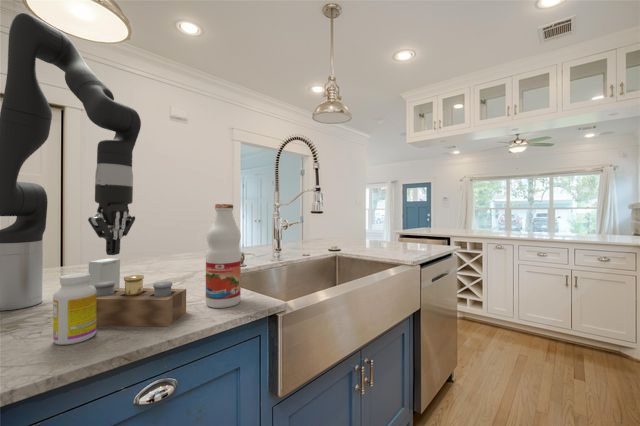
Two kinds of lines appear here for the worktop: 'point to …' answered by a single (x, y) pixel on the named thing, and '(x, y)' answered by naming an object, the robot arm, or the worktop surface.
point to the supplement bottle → (74, 309)
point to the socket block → (140, 308)
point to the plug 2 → (162, 289)
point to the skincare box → (105, 271)
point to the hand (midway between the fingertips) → (112, 254)
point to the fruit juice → (223, 260)
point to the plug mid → (133, 285)
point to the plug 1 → (104, 288)
